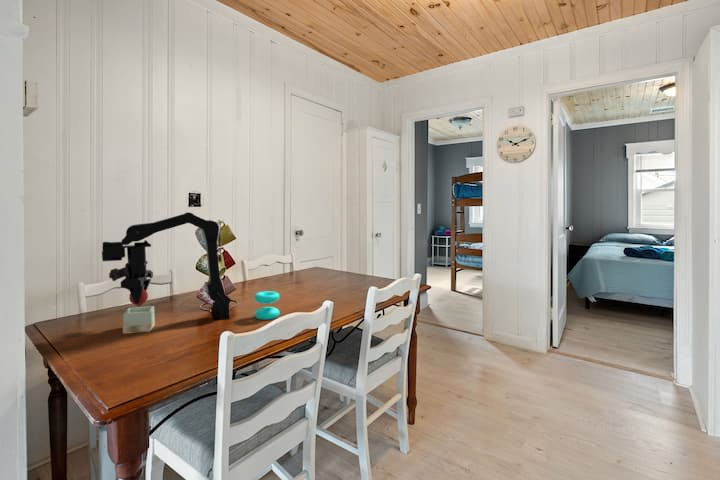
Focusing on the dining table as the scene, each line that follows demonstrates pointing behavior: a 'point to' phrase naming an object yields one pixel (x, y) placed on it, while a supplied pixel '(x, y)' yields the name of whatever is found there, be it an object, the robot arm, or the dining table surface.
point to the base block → (138, 328)
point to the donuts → (267, 312)
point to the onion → (142, 299)
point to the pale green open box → (138, 316)
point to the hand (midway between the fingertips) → (139, 301)
